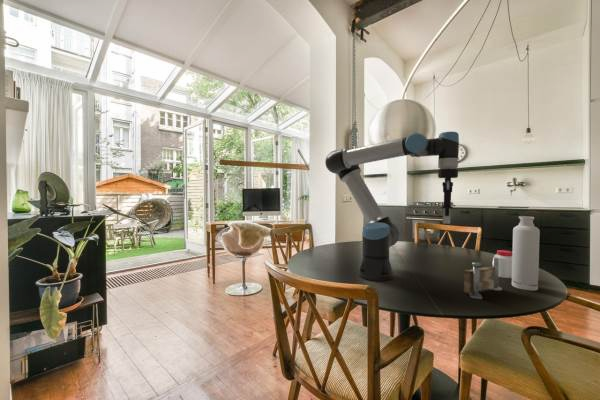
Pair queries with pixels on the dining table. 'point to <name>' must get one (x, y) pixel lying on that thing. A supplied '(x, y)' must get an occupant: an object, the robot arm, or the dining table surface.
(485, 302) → the dining table surface
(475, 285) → the latch post
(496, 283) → the hinge post
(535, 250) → the bottle
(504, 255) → the pill bottle
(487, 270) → the gate
